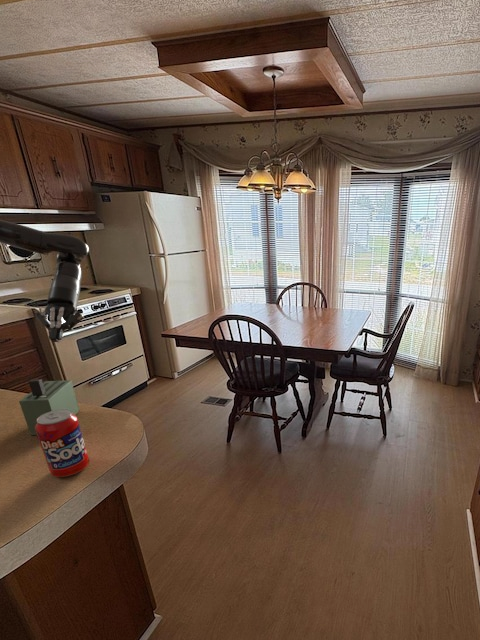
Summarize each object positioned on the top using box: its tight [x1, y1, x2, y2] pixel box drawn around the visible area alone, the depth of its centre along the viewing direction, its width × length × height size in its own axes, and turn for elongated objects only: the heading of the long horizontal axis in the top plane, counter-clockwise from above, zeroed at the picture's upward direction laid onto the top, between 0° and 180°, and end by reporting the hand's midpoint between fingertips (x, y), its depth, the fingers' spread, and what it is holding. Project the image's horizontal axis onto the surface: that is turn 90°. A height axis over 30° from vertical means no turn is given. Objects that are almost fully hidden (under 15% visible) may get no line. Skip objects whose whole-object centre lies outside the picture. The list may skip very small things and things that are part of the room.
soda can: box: [35, 409, 90, 478], centre depth 81 cm, size 8×8×15 cm
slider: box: [28, 378, 46, 396], centre depth 94 cm, size 2×2×4 cm
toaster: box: [18, 379, 81, 436], centre depth 100 cm, size 13×7×11 cm, turn 11°
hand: (54, 340), depth 103 cm, fingers closed
